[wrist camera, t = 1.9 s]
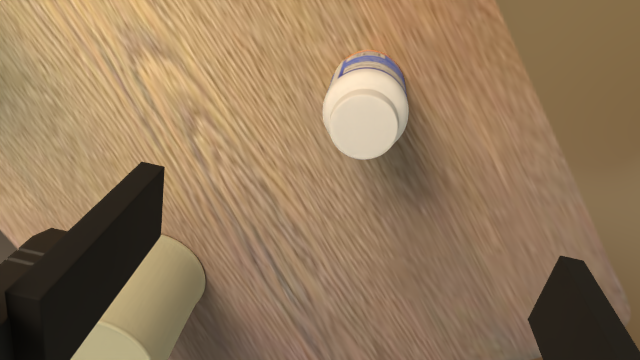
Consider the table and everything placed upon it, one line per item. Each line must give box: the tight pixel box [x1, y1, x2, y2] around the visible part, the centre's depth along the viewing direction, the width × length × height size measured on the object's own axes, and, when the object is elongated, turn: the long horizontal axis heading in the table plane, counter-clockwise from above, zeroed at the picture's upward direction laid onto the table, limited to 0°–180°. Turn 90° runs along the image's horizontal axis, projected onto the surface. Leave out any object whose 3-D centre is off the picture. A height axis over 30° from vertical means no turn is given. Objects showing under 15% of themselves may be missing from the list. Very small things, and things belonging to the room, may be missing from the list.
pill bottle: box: [323, 50, 409, 160], centre depth 33 cm, size 5×5×10 cm
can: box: [70, 234, 205, 360], centre depth 42 cm, size 9×9×12 cm
